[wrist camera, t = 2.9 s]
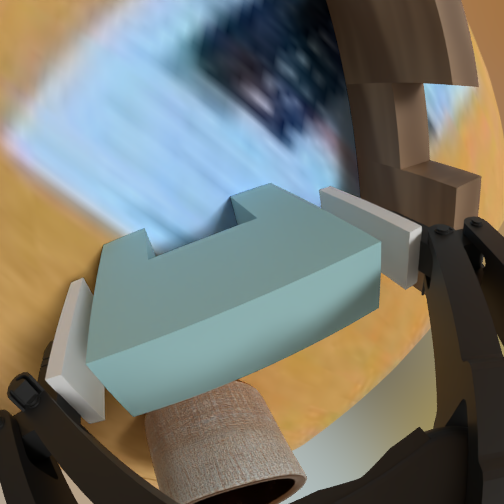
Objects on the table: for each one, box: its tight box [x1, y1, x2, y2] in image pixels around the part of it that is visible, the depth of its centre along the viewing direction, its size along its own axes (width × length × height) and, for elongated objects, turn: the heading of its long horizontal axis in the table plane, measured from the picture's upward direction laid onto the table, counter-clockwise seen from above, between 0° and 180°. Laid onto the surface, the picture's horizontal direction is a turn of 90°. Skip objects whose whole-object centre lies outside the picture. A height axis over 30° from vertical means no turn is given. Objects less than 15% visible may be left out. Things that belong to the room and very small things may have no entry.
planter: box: [145, 380, 307, 504], centre depth 19 cm, size 11×11×10 cm
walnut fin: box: [326, 0, 481, 295], centre depth 14 cm, size 3×20×8 cm, turn 12°
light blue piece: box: [86, 183, 381, 417], centre depth 13 cm, size 10×3×9 cm, turn 102°
